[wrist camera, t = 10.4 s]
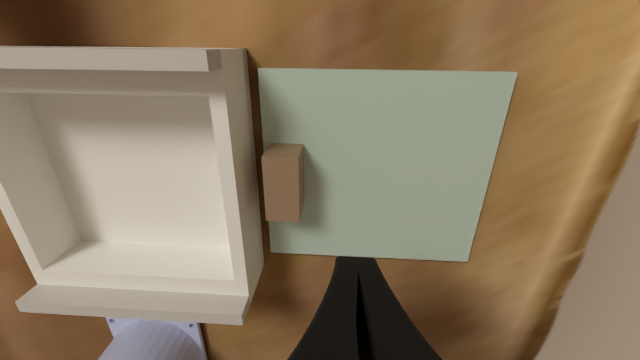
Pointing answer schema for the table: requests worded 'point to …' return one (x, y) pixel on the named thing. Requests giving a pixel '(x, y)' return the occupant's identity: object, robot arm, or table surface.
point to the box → (132, 180)
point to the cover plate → (379, 159)
